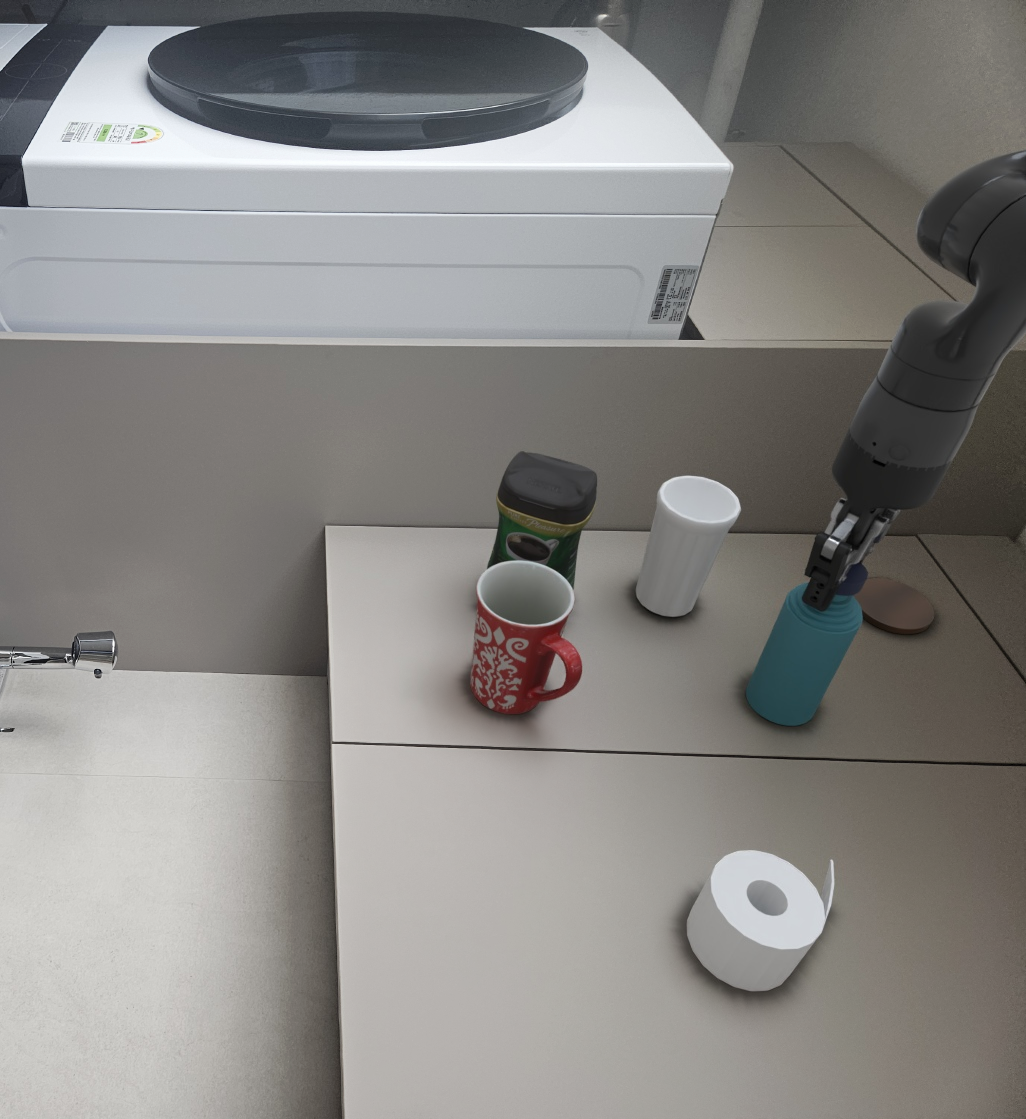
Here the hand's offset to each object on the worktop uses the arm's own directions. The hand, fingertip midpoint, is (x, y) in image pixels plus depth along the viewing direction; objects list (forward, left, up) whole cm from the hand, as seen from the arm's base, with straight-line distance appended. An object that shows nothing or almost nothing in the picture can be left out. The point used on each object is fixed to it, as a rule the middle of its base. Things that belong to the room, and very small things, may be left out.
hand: (825, 593), depth 87 cm
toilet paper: (-8, +26, -15) cm, 31 cm away
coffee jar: (+26, +3, -15) cm, 30 cm away
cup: (+14, -7, -15) cm, 22 cm away
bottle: (-1, 0, -15) cm, 15 cm away
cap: (0, 0, +3) cm, 3 cm away
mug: (+20, +16, -15) cm, 30 cm away
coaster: (-6, -21, -15) cm, 26 cm away
